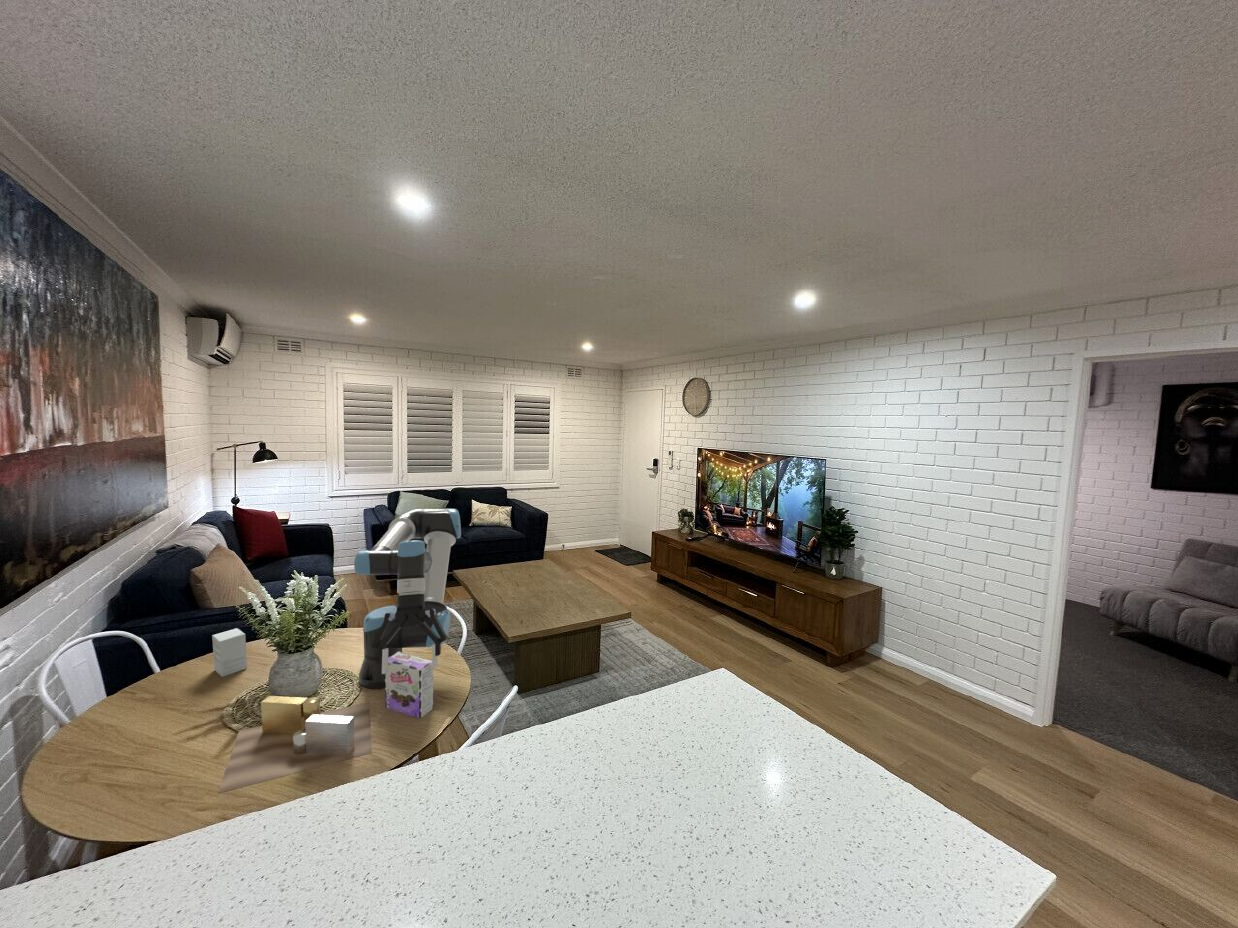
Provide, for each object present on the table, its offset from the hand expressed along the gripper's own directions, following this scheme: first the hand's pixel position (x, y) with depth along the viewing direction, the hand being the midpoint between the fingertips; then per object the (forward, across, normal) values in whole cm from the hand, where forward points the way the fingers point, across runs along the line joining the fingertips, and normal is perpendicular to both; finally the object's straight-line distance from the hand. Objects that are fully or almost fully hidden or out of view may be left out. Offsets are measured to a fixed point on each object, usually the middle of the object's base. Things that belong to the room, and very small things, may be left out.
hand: (409, 670), depth 142 cm
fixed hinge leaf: (+17, -20, -5) cm, 27 cm away
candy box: (+13, -4, +13) cm, 19 cm away
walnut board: (+16, -27, -1) cm, 31 cm away
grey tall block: (-1, -69, +38) cm, 79 cm away
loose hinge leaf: (+13, -32, +3) cm, 35 cm away
